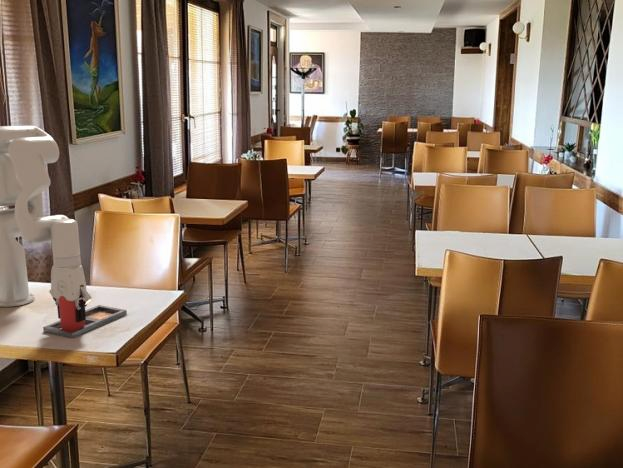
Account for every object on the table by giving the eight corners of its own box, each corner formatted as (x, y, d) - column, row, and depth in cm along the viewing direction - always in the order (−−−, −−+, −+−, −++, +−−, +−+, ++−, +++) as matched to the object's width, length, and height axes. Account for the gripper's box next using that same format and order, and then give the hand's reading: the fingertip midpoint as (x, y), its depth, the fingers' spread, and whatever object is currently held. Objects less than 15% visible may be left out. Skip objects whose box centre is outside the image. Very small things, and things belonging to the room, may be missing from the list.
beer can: (76, 333, 186) (73, 294, 183) (56, 331, 187) (53, 293, 185) (88, 325, 192) (85, 287, 190) (69, 324, 194) (66, 286, 191)
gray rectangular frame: (43, 332, 187) (43, 327, 187) (99, 309, 207) (99, 305, 207) (72, 338, 182) (72, 333, 182) (126, 314, 202) (126, 310, 202)
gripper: (35, 260, 186) (41, 318, 190) (79, 267, 178) (84, 327, 182) (55, 255, 192) (60, 311, 196) (98, 261, 185) (103, 319, 189)
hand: (72, 318), depth 189 cm, fingers closed on beer can, 6 cm apart
